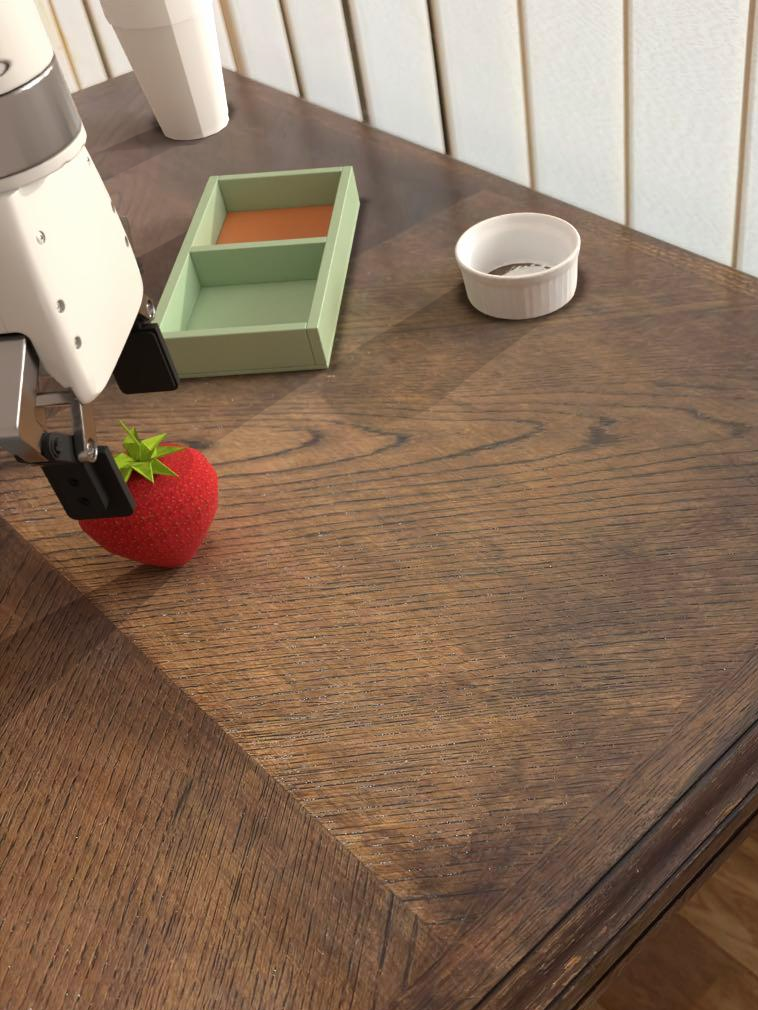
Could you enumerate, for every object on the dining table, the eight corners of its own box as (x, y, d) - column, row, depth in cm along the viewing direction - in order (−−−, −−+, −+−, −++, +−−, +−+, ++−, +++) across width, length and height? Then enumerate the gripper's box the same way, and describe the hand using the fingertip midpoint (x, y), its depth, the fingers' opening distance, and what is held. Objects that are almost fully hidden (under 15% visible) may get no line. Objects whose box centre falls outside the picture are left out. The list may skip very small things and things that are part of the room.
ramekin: (444, 323, 76) (436, 270, 73) (485, 257, 82) (479, 205, 79) (563, 338, 74) (560, 284, 71) (596, 269, 80) (594, 216, 77)
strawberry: (102, 558, 62) (31, 426, 55) (226, 508, 64) (174, 375, 57) (127, 625, 58) (55, 492, 51) (258, 569, 61) (206, 434, 53)
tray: (162, 388, 73) (143, 339, 70) (223, 221, 89) (209, 176, 86) (330, 376, 73) (317, 327, 70) (361, 210, 88) (352, 165, 85)
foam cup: (217, 94, 106) (176, -47, 97) (262, 123, 101) (224, -24, 92) (129, 127, 103) (78, -18, 93) (172, 158, 97) (122, 8, 88)
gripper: (-37, 46, 49) (103, 354, 61) (-218, 242, 37) (2, 577, 49) (124, 31, 48) (232, 343, 61) (-4, 224, 36) (163, 566, 48)
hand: (129, 447), depth 55 cm, fingers open, 9 cm apart
